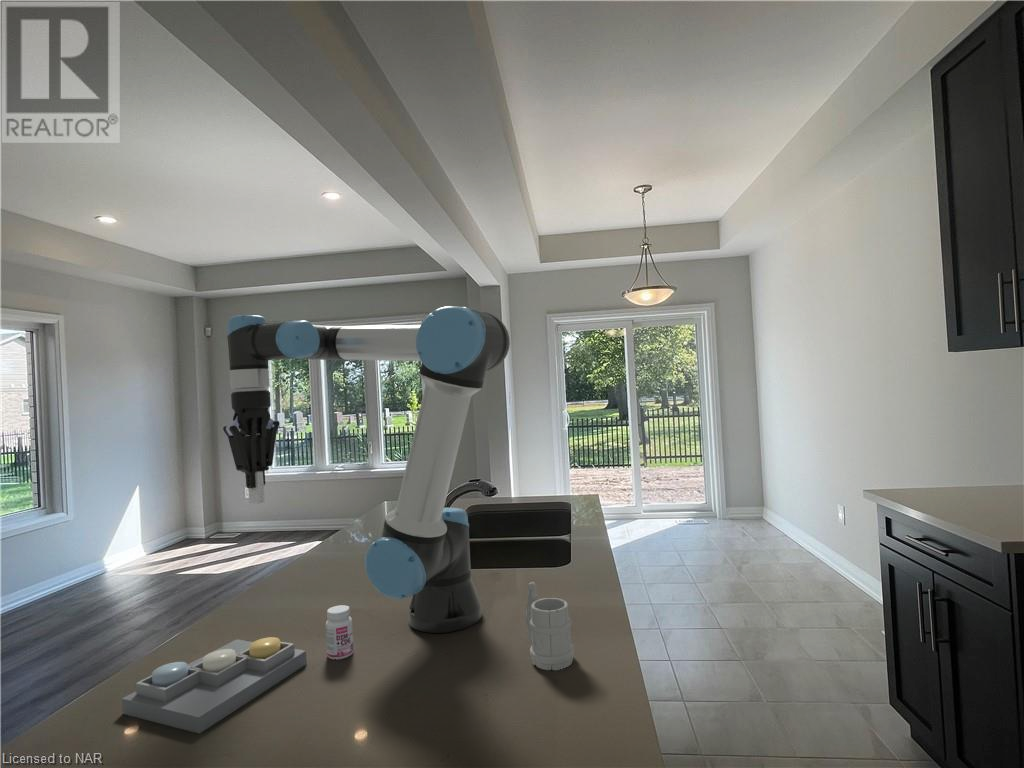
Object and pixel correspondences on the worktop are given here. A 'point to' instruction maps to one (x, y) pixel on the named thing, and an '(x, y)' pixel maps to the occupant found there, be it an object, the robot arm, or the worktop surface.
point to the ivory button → (219, 660)
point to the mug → (549, 631)
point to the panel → (212, 688)
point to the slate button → (169, 674)
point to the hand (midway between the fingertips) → (256, 502)
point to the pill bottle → (339, 632)
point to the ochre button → (264, 647)
